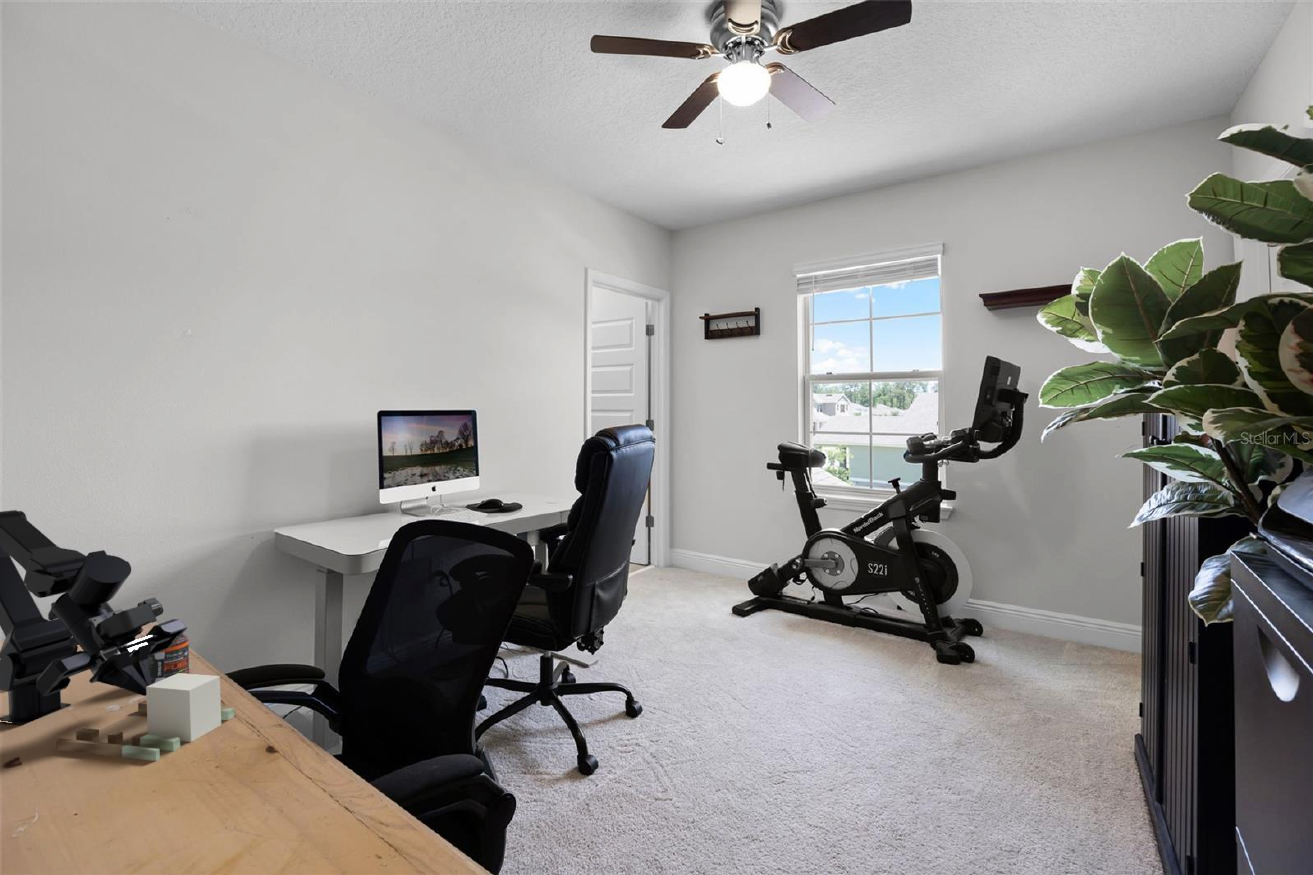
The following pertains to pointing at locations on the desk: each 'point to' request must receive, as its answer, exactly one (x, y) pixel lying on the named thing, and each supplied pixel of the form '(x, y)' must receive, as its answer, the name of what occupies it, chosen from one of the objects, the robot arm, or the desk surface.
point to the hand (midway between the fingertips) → (149, 693)
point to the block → (184, 706)
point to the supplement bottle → (170, 660)
